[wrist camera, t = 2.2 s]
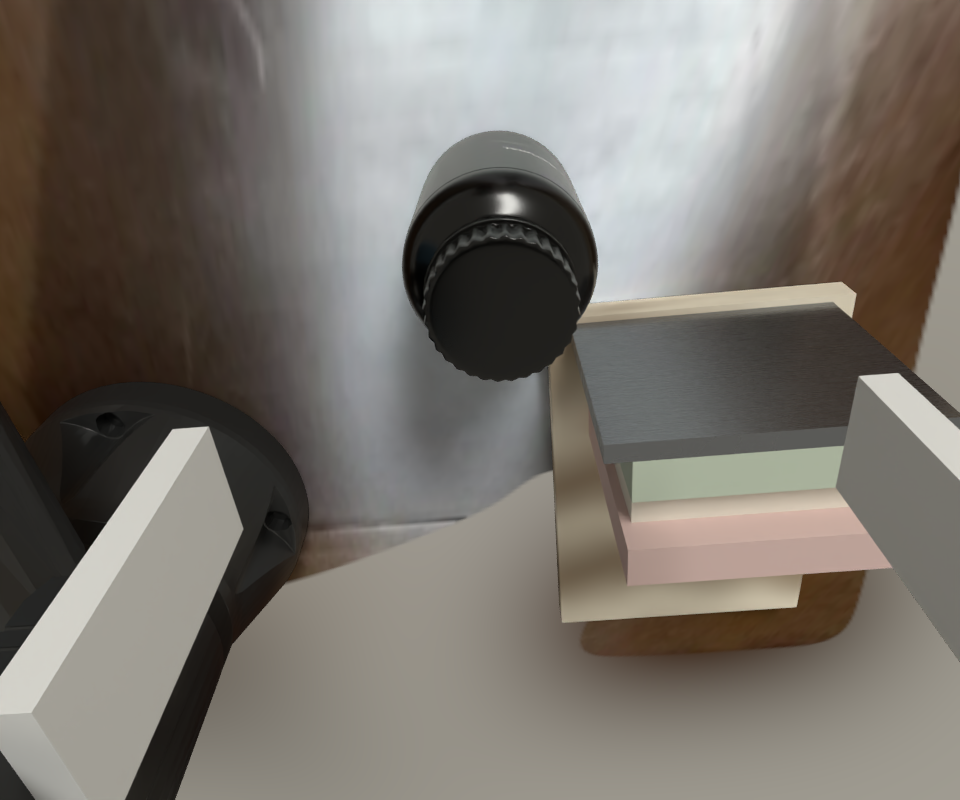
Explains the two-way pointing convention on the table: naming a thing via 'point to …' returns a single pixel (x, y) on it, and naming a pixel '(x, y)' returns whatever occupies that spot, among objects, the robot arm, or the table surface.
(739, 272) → the table surface
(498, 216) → the supplement bottle
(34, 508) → the robot arm
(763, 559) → the book row
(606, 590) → the shelf board
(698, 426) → the bookend
